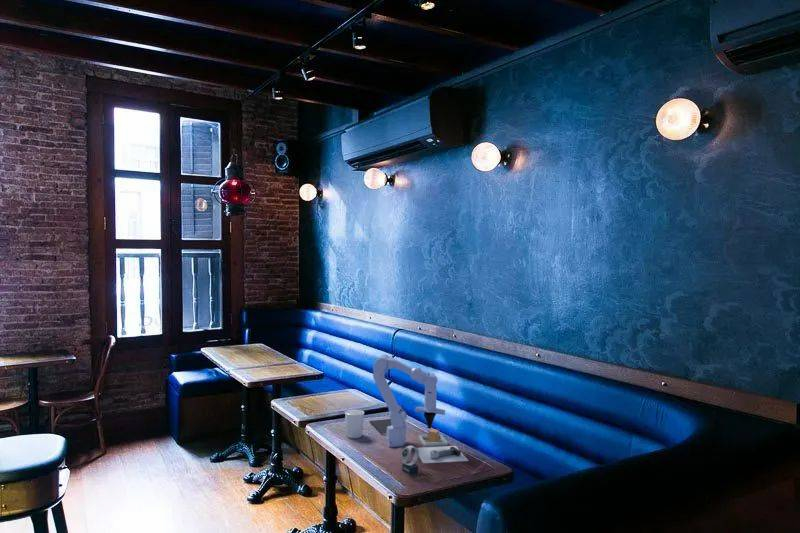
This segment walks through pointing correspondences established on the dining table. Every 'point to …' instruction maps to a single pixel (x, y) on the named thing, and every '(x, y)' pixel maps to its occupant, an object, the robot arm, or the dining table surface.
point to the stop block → (433, 435)
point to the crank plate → (425, 457)
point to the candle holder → (354, 423)
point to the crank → (444, 453)
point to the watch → (409, 466)
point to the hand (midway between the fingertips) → (429, 427)
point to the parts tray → (433, 442)
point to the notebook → (381, 425)
